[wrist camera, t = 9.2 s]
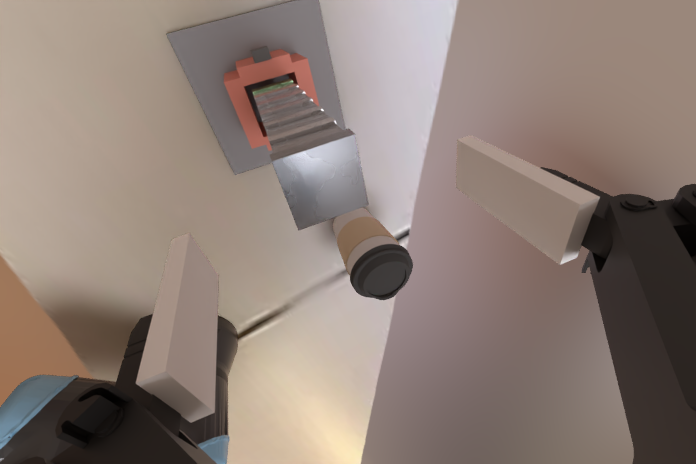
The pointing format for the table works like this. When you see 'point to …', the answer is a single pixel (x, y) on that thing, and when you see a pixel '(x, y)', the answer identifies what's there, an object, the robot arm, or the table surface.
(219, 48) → the stand
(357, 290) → the coffee cup
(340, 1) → the table surface
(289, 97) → the column
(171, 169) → the table surface
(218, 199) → the table surface
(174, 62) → the table surface
